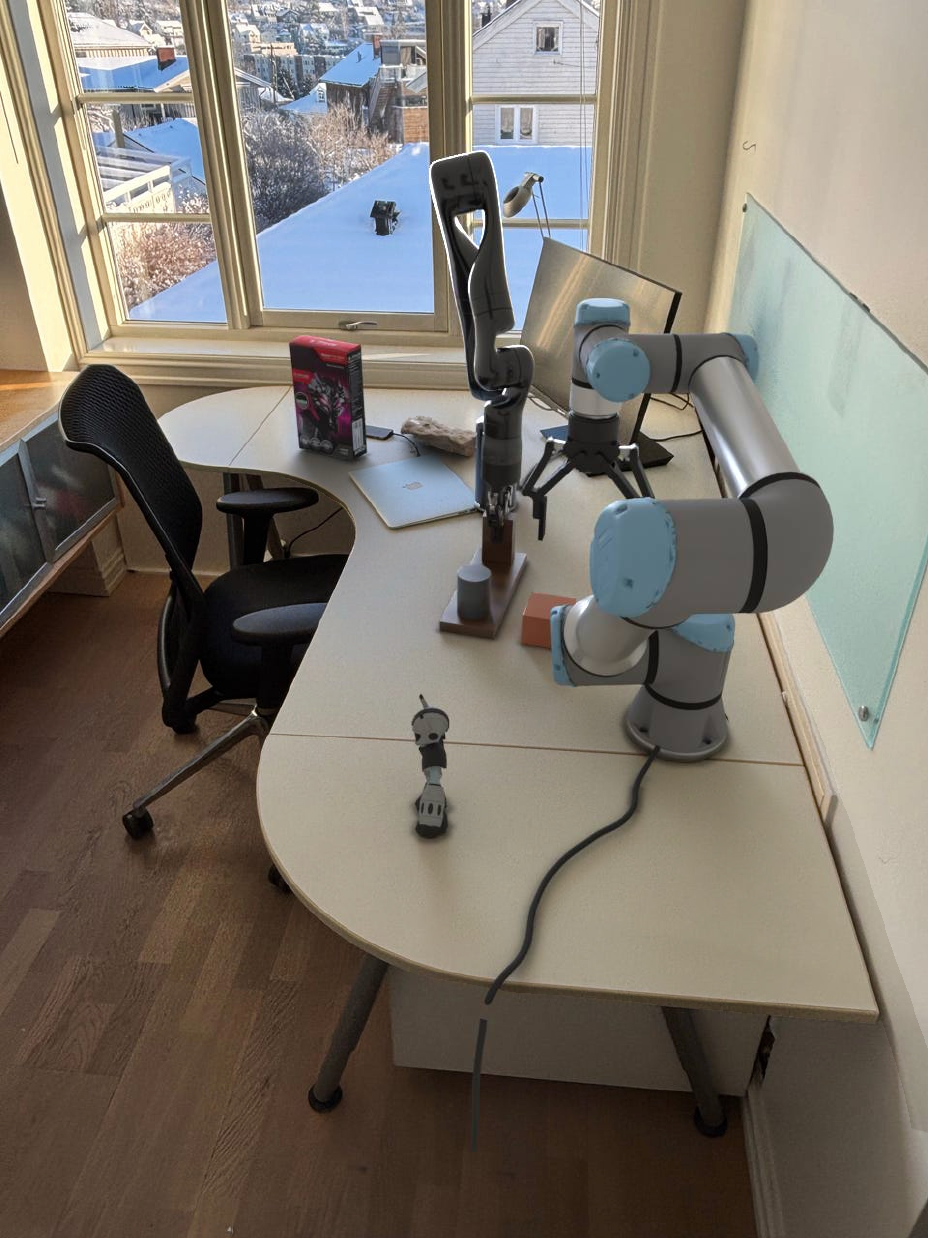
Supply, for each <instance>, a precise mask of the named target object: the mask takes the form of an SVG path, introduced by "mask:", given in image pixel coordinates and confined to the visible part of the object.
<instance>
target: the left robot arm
mask: <svg viewBox="0 0 928 1238" xmlns="http://www.w3.org/2000/svg"><path fill="white" fill-rule="evenodd" d="M494 169H495V167H494V164H493V162H492V159H491V158H490V154H489V153H487V152H486V151H485V150H475V151H471V152H467V153H462V154H458V155H457V154H456V155H454V156H449V157H445V158H442V159H441V158H440V159H438V160H436V161H433V162H432V164H431V165H430V168H429V184H430V190H431V196H432V201H433V203H434V208H435V211H436V215H437V220H438V224H439V226H440V230H441V235H442V238H443V241H444V246H445V250H446V256H447V261H448V268H449V274H450V279H451V286H452V291H453V296H454V301H455V307H456V310H457V315H458V318H459V324H460V328H461V333H462V339H463V347H464V348H463V349H464V357H465V369H466V377H467V385H468V389H469V392H470V394H471V396H472V397H473V398H474V399H476V400H477V401H480V402H485V404H484V406H483V415H481V416H479V417H478V418H477V420H476V422H475V432H476V447H475V456H474V457H475V461H474V462H475V464H474V465H475V467H474V501H473V505H474V508H475V509H476V510H477V511H479V512H482V513H483V514H484V513H485V511H486V516H487V524H488V526H489V527H491V541H492V542H494V543H501V542H502V540H503V525H504V515H505V514H506V513H507V512H509V513H511V512H512V511H514V510H515V509H516V507H517V492H518V491H519V490H521V489H523V487H524V485H525V483H526V482H527V480H528V479H529V477H530V475H531V474H532V472H533V470H534V469H535V467H536V465H537V464H538V462H536V463H535V464H534V465H533V466H532V467H531V469H530V470H529V471H528V473H527V474H526V475H525V477H524V478H523V481H522V483H521V478H522V465H523V464H522V461H523V436H522V430H523V412H524V409H525V405H526V402H527V399H528V396H529V394H530V390H531V386H532V385H533V380H534V377H535V371H536V364H535V359H534V355H533V353H532V351H531V350H530V349H529V348H528V347H527V346H526V345H522V344H516V345H509V346H501V347H496V340H497V337H499V336H502V335H505V334H507V333H508V332H511V331H512V330H513V329H514V327H515V325H516V317H515V313H514V307H513V302H512V297H511V292H510V287H509V283H508V276H507V269H506V268H507V267H506V259H505V246H504V235H503V224H502V216H501V215H502V214H501V206H500V198H499V189H498V183H497V178H496V172H495V170H494ZM476 212H482V220H483V221H482V222H483V223H482V224H483V227H482V235H481V239H480V242H479V246H478V245H476V243H475V242H474V241H473V239H471V238H470V237H469V236H468V234H467V233H466V231H465V230H464V229H463V227H462V225H461V224H460V222H459V219H458V218H457V217H459V216H465V215H468V214H472V213H476ZM563 452H564V451H563V450H562V449H561V450H559V451H558V453H557V454H556V455H558V454H560V453H563ZM554 456H555V455H553V454H552V456H551V458H552V457H554ZM475 501H476V502H477V503H479V504H480V507H478V506H477V505H476V504H475Z"/></svg>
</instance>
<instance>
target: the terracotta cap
mask: <svg viewBox="0 0 928 1238" xmlns="http://www.w3.org/2000/svg"><path fill="white" fill-rule="evenodd" d="M576 604H577V598H576V597H569V596H563V595H556V594H550V593H544V592H536V591H532V592H531V594H530V597H529V599H528V602H527V603H526V606H525V609H524V611H523V614H522V620H521V621H522V623H521V624H522V625H521V641H520V644H522V645H529V646H534V647H541V648H547V649H552V646H551V624H550V612H551V610H552V608H554V607H557V606H563V605H570V606H575V605H576Z"/></svg>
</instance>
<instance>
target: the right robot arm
mask: <svg viewBox="0 0 928 1238" xmlns="http://www.w3.org/2000/svg"><path fill="white" fill-rule="evenodd" d="M631 324H632V322H631V307H630V305H629V304H628V303H627V302H626V301H623V300H620V299H615V298H607V297H605V298H604V297H598V298H597V297H595V298H587V299H584V300H582V301H581V302H579V303H578V304H577V306H576V309H575V320H574V323H573V325H572V326H573V327H572V328H573V332H574V333H573V348H572V365H571V379H570V389H569V390H570V391H569V406H568V407H569V409H570V411H568V417H567V418H568V420H567V433H566V434H567V435H566V436H567V437H566V439H565V440H561V439H556V437H555V436H554V435H550V436H548V438H547V440H546V442H545V445H544V450H543V454H542V455H541V457H540V458H539V460H538V462H537V463H538V464H537V465H536V467H535V469H534V470H533V472H532V474H531V475H530V477H529V478H528V480H527V482H526V483H525V485H524V487H523V488H522V490H521V491H520V492H521V496H523V497H528V498H530V499H531V500H532V511H531V512H532V514H531V516H532V519H533V520H538V528H537V541H538V542H543V541H544V538H545V535H546V528H547V527H546V525H547V511H548V510H547V508H548V507H547V506H548V496H547V494H548V493H549V492H550V491H551V490H552V489H553V488H554V487H555V486H557V484H559V483H560V482H561V481H562V480H563V479H564V478H565V477H566V476H567V475H569V474H570V473H571V472H572V471H574V469H575V470H576V471H578V472H579V473H583V474H584V473H592V474H595V475H600V474H601V473H605V475H606V476H607V477H608V478H609V479H610V480H611V481H612V482H613V484H614V486H616V487H617V489H618V490H619V492H620V493H621V494H622V495H623V497H624V498H625V499H621V500H616V501H613V502H611V503H610V504H608V505H607V506H606V507H604V508H603V510H602V511H601V513H600V514H599V515H598V518H597V520H596V522H595V525H594V528H593V534H594V535H593V538H591V543H590V549H589V550H590V551H589V579H590V587H591V592H592V594H591V595H588V596H586V597H584V598H582V599H581V600H579V601H578V602H576V605H575V606H570V605H563V606H557V607H554V608H552V610H551V612H550V624H551V646H552V648H551V665H552V678H553V681H554V682H555V683H556V684H557V685H559V686H562V687H563V686H564V687H571V688H578V687H598V686H599V687H603V686H636V685H639V686H640V688H639V689H638V691H637V692H636V694H635V695H634V697H633V699H632V701H631V702H630V704H629V705H628V707H627V711H626V719H625V728H626V732H627V734H628V736H629V738H630V739H631V741H632V742H634V744H636V745H637V746H638V747H639V748H640V749H641V750H643V751H645V752H646V753H648V754H650V755H649V756H648V758H647V759H646V761H645V762H644V764H643V765H642V767H641V769H640V770H639V772H638V774H637V775H636V778H635V780H634V783H633V786H632V794H631V803H630V806H629V808H628V809H627V811H626V812H625V813H624V814H623V815H622V816H621V817H619V818H618V819H616V820H615V821H614V822H612V823H610V824H608V825H606V826H603V827H602V828H600V829H598V830H596V831H595V832H593V833H592V834H590V835H589V836H587V837H586V838H585V839H583V840H582V841H580V842H578V843H577V844H576V845H574V846H573V847H572V848H570V849H569V850H567V851H566V852H565V853H564V854H563V855H562V856H561V857H560V858H559V859H557V861H556V862H555V863H554V864H553V865H552V866H551V867H550V868H549V870H548V871H547V872H546V874H545V875H544V877H543V879H542V880H541V882H540V884H539V886H538V888H537V890H536V891H535V894H534V896H533V898H532V901H531V904H530V906H529V909H528V913H527V919H526V925H525V935H524V939H523V942H522V945H521V948H520V950H519V952H518V953H517V955H516V956H515V958H514V959H513V960H512V961H511V962H510V963H509V965H507V966H506V967H505V968H504V969H503V970H502V971H501V972H500V973H499V975H497V976H496V978H495V979H494V981H493V982H492V984H491V986H490V987H489V989H488V991H487V994H486V996H485V997H484V1000H483V1002H484V1004H485V1005H486V1006H489V1005H491V1004H492V1003H493V1000H494V999H495V997H496V995H497V993H498V990H499V989H500V988H501V986H502V985H503V983H505V981H506V980H507V979H508V978H509V977H510V976H511V975H512V974H513V973H514V972H515V971H516V970H517V969H518V968H519V967H520V966H521V965H522V963H523V961H524V960H525V958H526V956H527V954H528V952H529V950H530V948H531V944H532V941H533V935H534V926H535V919H536V913H537V909H538V908H539V904H540V902H541V899H542V898H543V896H544V892H545V890H546V889H547V887H548V885H549V883H550V882H551V881H552V879H553V878H554V877H555V875H556V874H557V872H558V871H559V870H560V869H561V868H562V867H563V866H564V865H565V864H566V863H567V862H568V861H569V860H570V859H571V858H572V857H574V856H575V855H576V854H578V853H579V852H581V851H582V850H584V849H585V848H587V847H588V846H589V845H591V844H592V843H594V842H595V841H597V840H598V839H600V838H601V837H603V836H605V835H607V834H609V833H611V832H613V831H615V830H617V829H618V828H620V827H622V826H624V825H625V824H626V823H627V822H628V821H630V819H631V818H632V816H633V815H635V814H634V813H635V811H637V808H638V803H639V796H640V795H639V793H640V787H641V785H642V781H643V780H644V777H645V775H646V774H647V772H648V770H649V769H650V767H651V766H652V764H653V762H654V760H655V759H656V758H659V759H662V760H666V761H670V762H675V763H694V762H700V761H703V760H706V759H709V758H711V757H714V755H716V754H718V752H720V751H721V750H722V748H723V747H724V744H725V743H726V740H727V739H726V738H727V734H728V724H730V721H729V717H728V715H727V713H726V712H725V708H724V707H725V706H724V701H723V692H724V686H725V682H726V678H727V674H728V673H727V672H728V668H729V664H730V659H731V654H732V651H733V649H734V646H735V631H736V620H735V617H734V615H736V614H747V615H749V614H750V615H751V614H752V615H754V614H755V615H756V614H763V613H769V612H773V611H776V610H779V609H782V608H784V607H786V606H788V605H790V604H792V603H794V602H795V601H797V600H798V599H800V597H802V596H803V595H804V594H805V593H807V591H809V590H810V589H811V587H812V586H813V585H814V584H815V583H816V581H818V579H819V578H820V576H821V575H822V573H823V571H824V569H825V568H826V566H827V563H828V561H829V558H830V556H831V552H832V548H833V543H834V533H835V531H834V530H835V526H834V517H833V513H832V509H831V505H830V502H829V501H828V499H827V497H826V495H825V492H824V491H823V489H822V487H821V485H820V484H819V482H818V481H817V479H815V478H814V477H813V476H811V475H810V474H808V473H806V472H803V471H801V470H800V468H799V466H798V464H797V462H796V461H795V459H794V457H793V455H792V453H791V451H790V449H789V447H788V445H787V443H786V441H785V439H784V438H783V436H782V433H781V432H780V430H779V429H778V426H777V424H776V423H775V421H774V418H773V417H772V415H771V413H770V410H769V409H768V407H767V405H766V403H765V402H764V399H763V398H762V396H761V395H760V393H759V391H758V389H757V387H756V385H755V383H756V380H757V378H758V374H759V370H760V369H759V368H760V353H759V352H758V350H759V347H758V343H757V341H756V339H755V338H754V337H753V336H751V335H750V334H745V333H731V332H727V331H721V332H713V333H712V332H711V333H710V332H709V333H708V332H707V333H630V327H631ZM641 394H689V396H690V398H691V400H692V402H693V405H694V407H695V410H696V412H697V414H698V417H699V419H700V422H701V424H702V427H703V429H704V432H705V434H706V436H707V439H708V441H709V444H710V446H711V449H712V451H713V453H714V456H715V458H716V461H717V463H718V466H719V468H720V470H721V473H722V475H723V478H724V481H725V482H726V485H727V487H728V490H729V493H730V495H731V497H723V498H722V497H720V498H719V497H718V498H716V497H715V498H677V499H676V498H673V499H671V498H669V499H668V498H667V499H666V498H665V499H664V498H663V499H660V498H659V499H656V496H655V494H654V491H653V489H652V486H651V484H650V481H649V479H648V476H647V474H646V471H645V469H644V466H643V464H642V462H641V459H640V446H639V444H638V443H636V442H634V443H632V444H631V445H620V442H619V435H620V431H619V428H620V427H621V426H620V424H621V414H620V411H621V410H622V405H623V403H626V402H629V401H632V400H634V399H635V398H637V397H638V396H639V395H641ZM561 449H562V450H563V452H564V454H565V456H566V457H567V458H566V459H565V461H563V463H562V464H561V465H560V466H559V467H558V468H557V469H556V470H554V471H553V473H552V474H551V475H550V476H548V478H546V479H545V480H544V481H543V482H542V483H541V484H540V485H538V486H537V487H535V485H536V483H537V482H538V480H539V478H540V477H541V475H542V474H543V472H544V471H545V469H546V468H547V466H548V464H549V462H550V460H551V458H552V457H553V456H552V454H553V455H554V456H556V455H558V454H559V453H558V451H559V450H561ZM557 453H558V454H557ZM551 456H552V457H551ZM620 456H623V458H624V460H625V461H626V462H629V466H630V469H631V472H632V475H633V478H634V479H635V482H636V484H637V487H638V490H639V492H640V494H641V496H640V494H639V493H638V491H637V490H636V489H635V488H634V486H633V485H632V484H631V483H630V481H629V480H628V479H627V477H626V475H624V473H623V471H622V470H621V469H620V467H619V465H618V463H617V462H616V460H617V459H618V458H619V457H620ZM487 1027H488V1020H487V1019H484V1018H479V1024H478V1031H477V1039H476V1044H475V1053H474V1059H473V1071H472V1084H471V1085H472V1086H471V1140H470V1150H472V1151H473V1152H476V1151H478V1149H479V1131H480V1130H479V1129H480V1089H481V1088H480V1087H481V1086H480V1085H481V1073H482V1072H481V1071H482V1062H483V1057H484V1055H483V1054H484V1047H485V1042H486V1037H487V1036H486V1035H487Z"/></svg>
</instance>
